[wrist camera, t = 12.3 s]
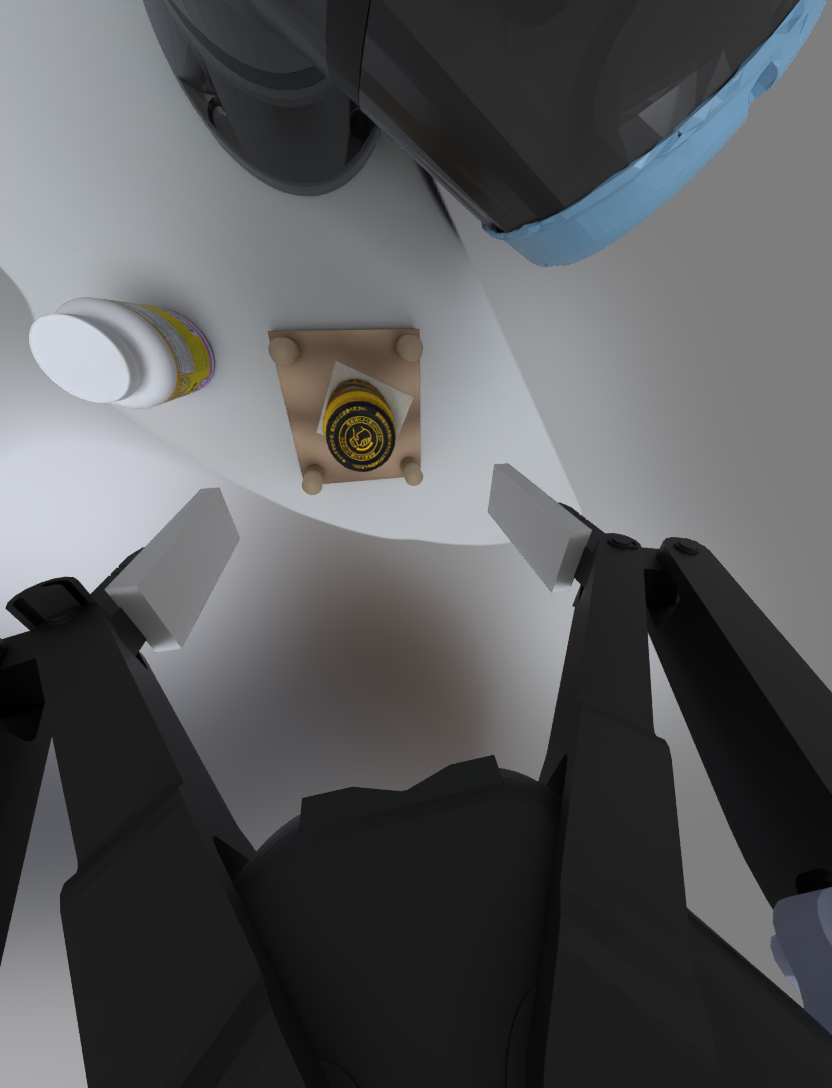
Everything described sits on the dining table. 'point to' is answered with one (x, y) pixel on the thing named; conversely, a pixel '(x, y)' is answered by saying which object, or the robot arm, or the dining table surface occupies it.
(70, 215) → the dining table surface
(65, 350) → the supplement bottle
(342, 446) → the condiment
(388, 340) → the peg holder
